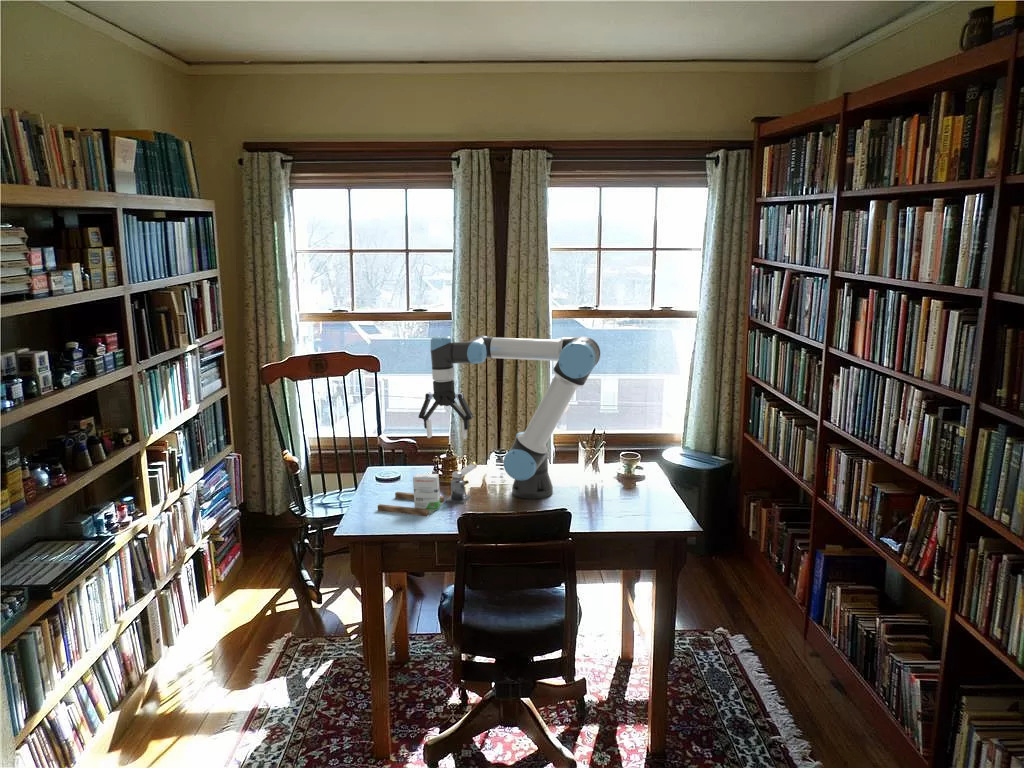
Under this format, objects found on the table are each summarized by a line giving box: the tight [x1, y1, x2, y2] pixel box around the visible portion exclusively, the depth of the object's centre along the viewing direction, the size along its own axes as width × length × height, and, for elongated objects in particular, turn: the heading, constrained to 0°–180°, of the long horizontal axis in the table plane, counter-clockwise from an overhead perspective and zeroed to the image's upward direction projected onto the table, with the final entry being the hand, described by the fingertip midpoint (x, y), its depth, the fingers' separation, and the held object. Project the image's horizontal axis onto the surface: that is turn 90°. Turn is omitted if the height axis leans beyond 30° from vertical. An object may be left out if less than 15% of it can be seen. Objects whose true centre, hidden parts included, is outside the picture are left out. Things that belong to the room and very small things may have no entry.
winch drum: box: [445, 478, 472, 504], centre depth 280 cm, size 7×7×8 cm
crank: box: [451, 461, 478, 480], centre depth 285 cm, size 16×4×2 cm, turn 157°
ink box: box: [412, 473, 441, 510], centre depth 272 cm, size 9×5×12 cm, turn 83°
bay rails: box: [377, 491, 445, 517], centre depth 275 cm, size 19×15×2 cm
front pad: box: [429, 502, 444, 515], centre depth 273 cm, size 7×11×1 cm, turn 161°
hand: (447, 437), depth 277 cm, fingers open, 13 cm apart
